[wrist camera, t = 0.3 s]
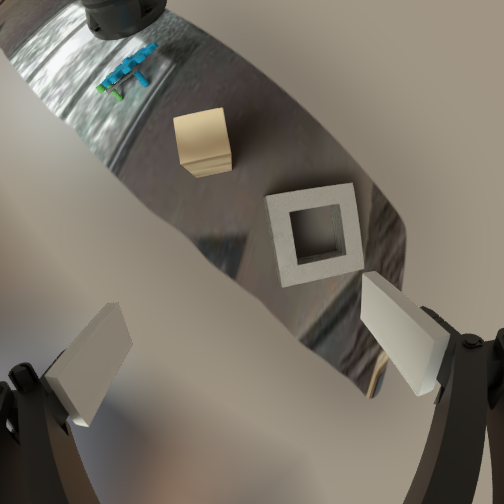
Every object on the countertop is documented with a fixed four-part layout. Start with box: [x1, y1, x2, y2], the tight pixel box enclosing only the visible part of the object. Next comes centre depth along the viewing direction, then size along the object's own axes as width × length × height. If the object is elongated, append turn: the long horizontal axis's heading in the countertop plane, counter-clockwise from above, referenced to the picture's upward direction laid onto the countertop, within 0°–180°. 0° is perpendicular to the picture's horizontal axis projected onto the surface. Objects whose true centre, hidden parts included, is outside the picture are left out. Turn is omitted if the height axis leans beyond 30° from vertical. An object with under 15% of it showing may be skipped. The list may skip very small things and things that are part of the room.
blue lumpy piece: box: [96, 42, 158, 101], centre depth 31 cm, size 11×6×10 cm
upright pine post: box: [173, 108, 232, 178], centre depth 31 cm, size 5×5×12 cm
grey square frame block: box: [263, 183, 364, 287], centre depth 37 cm, size 12×12×4 cm
